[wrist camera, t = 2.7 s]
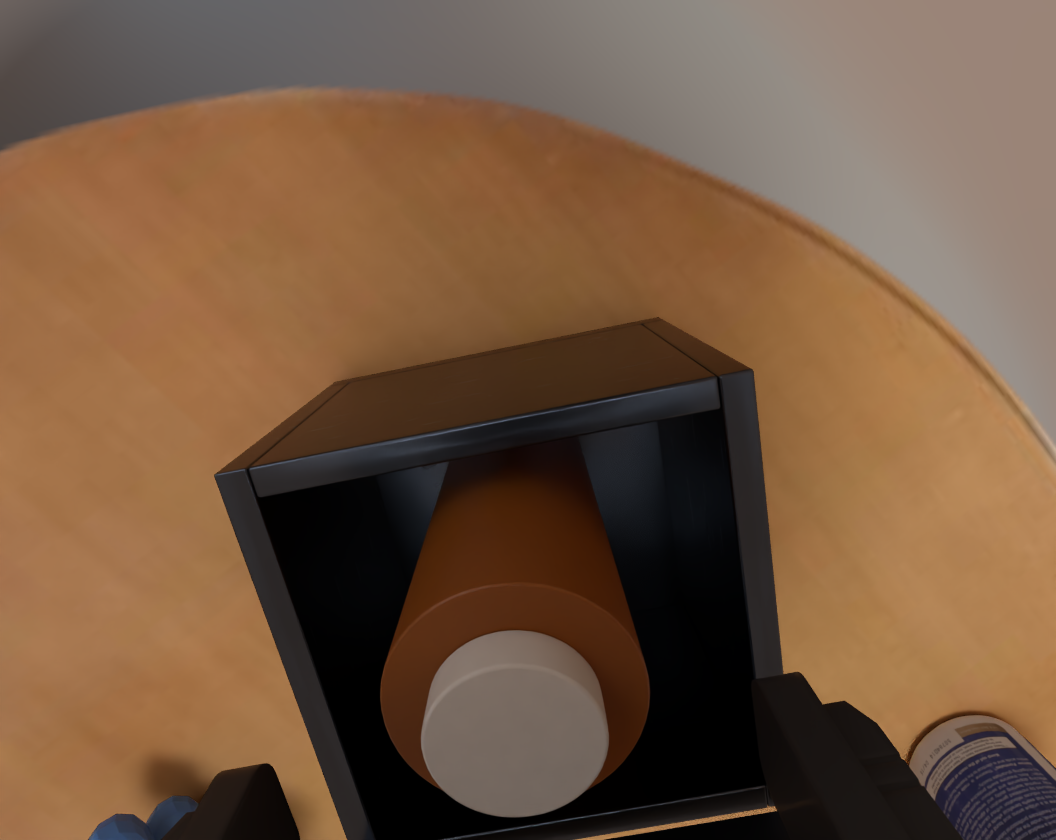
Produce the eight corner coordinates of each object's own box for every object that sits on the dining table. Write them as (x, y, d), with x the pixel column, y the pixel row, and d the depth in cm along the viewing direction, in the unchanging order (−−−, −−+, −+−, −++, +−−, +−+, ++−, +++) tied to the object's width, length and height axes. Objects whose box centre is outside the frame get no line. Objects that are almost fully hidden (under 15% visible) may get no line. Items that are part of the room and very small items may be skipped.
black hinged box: (334, 381, 24) (212, 474, 14) (659, 316, 23) (754, 368, 14) (414, 656, 27) (359, 876, 18) (699, 605, 27) (797, 803, 17)
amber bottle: (439, 412, 23) (330, 647, 10) (569, 387, 23) (639, 591, 10) (468, 531, 25) (407, 878, 11) (592, 507, 24) (680, 833, 11)
